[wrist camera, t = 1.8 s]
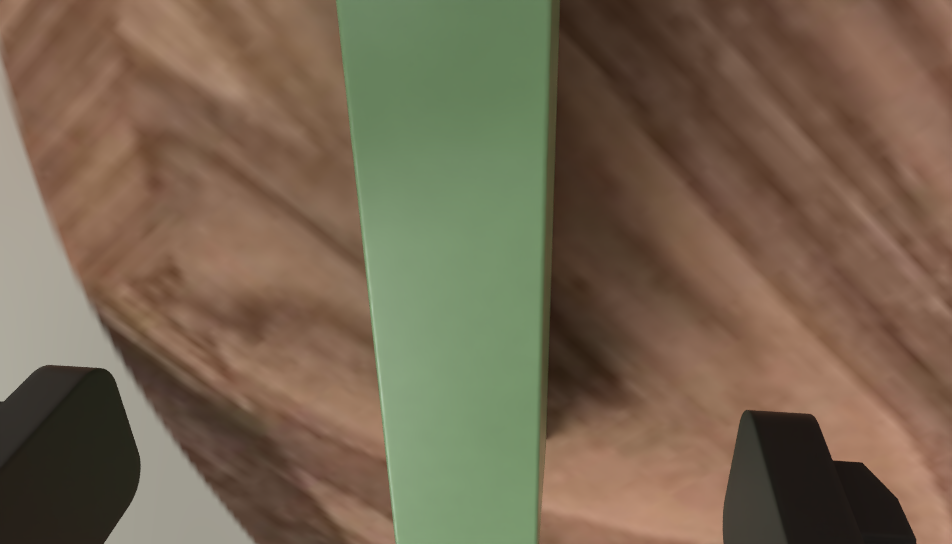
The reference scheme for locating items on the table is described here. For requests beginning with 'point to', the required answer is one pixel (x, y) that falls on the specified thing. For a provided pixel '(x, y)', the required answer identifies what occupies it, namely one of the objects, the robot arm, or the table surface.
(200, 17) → the table surface
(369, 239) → the bar
